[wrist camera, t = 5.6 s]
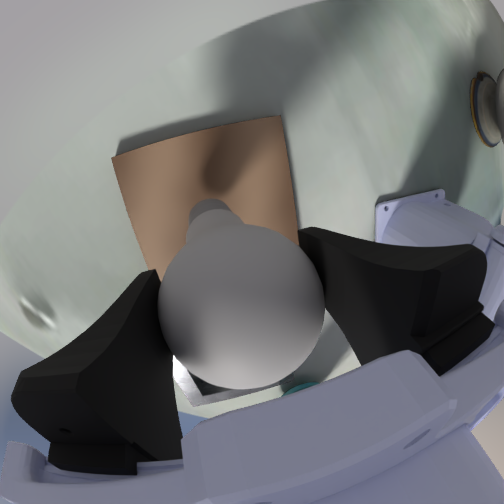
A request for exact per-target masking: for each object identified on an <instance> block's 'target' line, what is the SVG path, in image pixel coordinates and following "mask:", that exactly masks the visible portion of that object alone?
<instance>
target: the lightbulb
mask: <svg viewBox="0 0 504 504" xmlns="http://www.w3.org/2000/svg"><path fill="white" fill-rule="evenodd" d="M188 225H189V228H188V230H187V234H186V245H184V246H183V247H182V249H181V250H180V251H179V252H178V253H177V254H176V256H175V257H174V258H173V260H172V261H171V263H170V264H169V265H168V267H167V269H166V272H165V274H164V277H163V279H162V282H161V286H160V289H159V294H158V302H157V307H158V318H159V322H160V326H161V330H162V334H163V337H164V339H165V341H166V343H167V345H168V347H169V348H170V350H171V352H172V353H173V355H174V357H175V358H176V359H177V360H178V361H179V362H180V363H181V364H182V365H183V366H184V367H185V368H186V369H187V370H189V371H190V372H191V373H192V374H194V375H196V376H197V377H199V378H201V379H202V380H204V381H206V382H208V383H210V384H213V385H216V386H220V387H225V388H230V389H252V388H259V387H264V386H267V385H270V384H273V383H275V382H277V381H279V380H281V379H283V378H284V377H286V376H288V375H289V374H291V373H292V372H293V371H295V370H296V369H297V368H298V367H299V366H300V365H301V364H302V363H303V362H304V361H305V360H306V358H307V357H308V356H309V355H310V353H311V352H312V350H313V349H314V348H315V346H316V343H317V341H318V339H319V336H320V333H321V330H322V326H323V321H324V314H325V299H324V292H323V286H322V283H321V281H320V278H319V276H318V273H317V271H316V269H315V266H314V264H313V263H312V261H311V260H310V259H309V258H308V256H307V255H306V254H305V253H304V251H303V250H302V249H301V248H300V247H299V246H298V245H296V244H295V243H294V242H292V241H291V240H289V239H288V238H286V237H285V236H283V235H282V234H280V233H279V232H276V231H274V230H271V229H269V228H266V227H261V226H256V225H250V224H244V222H243V221H242V220H241V218H239V217H238V216H237V215H236V214H234V213H233V212H232V211H231V209H230V208H229V207H228V206H227V205H226V204H225V203H224V202H223V201H221V200H218V199H205V200H202V201H200V202H198V203H197V204H196V205H195V206H194V207H193V208H192V209H191V211H190V213H189V221H188Z"/></svg>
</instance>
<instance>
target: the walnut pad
mask: <svg viewBox="0 0 504 504" xmlns="http://www.w3.org/2000/svg"><path fill="white" fill-rule="evenodd" d="M111 159H112V163H113V166H114V170H115V173H116V177H117V180H118V184H119V187H120V190H121V193H122V197H123V200H124V203H125V206H126V209H127V212H128V215H129V218H130V221H131V224H132V227H133V229H134V232H135V235H136V238H137V241H138V243H139V246H140V249H141V251H142V254H143V256H144V259H145V262H146V264H147V267H148V269H149V270H152V269H156V271H157V274H158V276H159V279H160V281H161V282H162V279H163V277H164V274H165V272H166V269H167V267H168V265H169V264H170V263H171V261H172V260H173V258H174V257H175V256H176V254H177V253H178V252H179V251H180V250H181V249H182V247H183V246H184V245H186V234H187V230H188V228H189V225H188V221H189V213H190V211H191V209H192V208H193V207H194V206H195V205H196V204H197V203H198V202H200V201H202V200H205V199H218V200H221V201H223V202H224V203H225V204H226V205H227V206H228V207H229V208H230V209H231V211H232V212H233V213H234V214H236V215H237V216H238V217H239V218H241V220H242V221H243V222H244V224H250V225H256V226H261V227H266V228H269V229H271V230H274V231H276V232H279V233H280V234H282V235H283V236H285V237H286V238H288V239H289V240H291V241H292V242H294V243H295V244H296V245H298V246H299V241H298V233H297V230H298V226H297V218H296V211H295V203H294V196H293V189H292V182H291V175H290V169H289V162H288V156H287V150H286V144H285V138H284V132H283V126H282V121H281V115H280V116H272V117H266V118H260V119H254V120H248V121H243V122H237V123H232V124H227V125H223V126H218V127H213V128H209V129H205V130H201V131H196V132H192V133H189V134H185V135H181V136H177V137H174V138H170V139H167V140H163V141H160V142H156V143H153V144H150V145H147V146H144V147H141V148H138V149H135V150H132V151H129V152H126V153H123V154H120V155H117V156H115V157H112V158H111Z"/></svg>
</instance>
